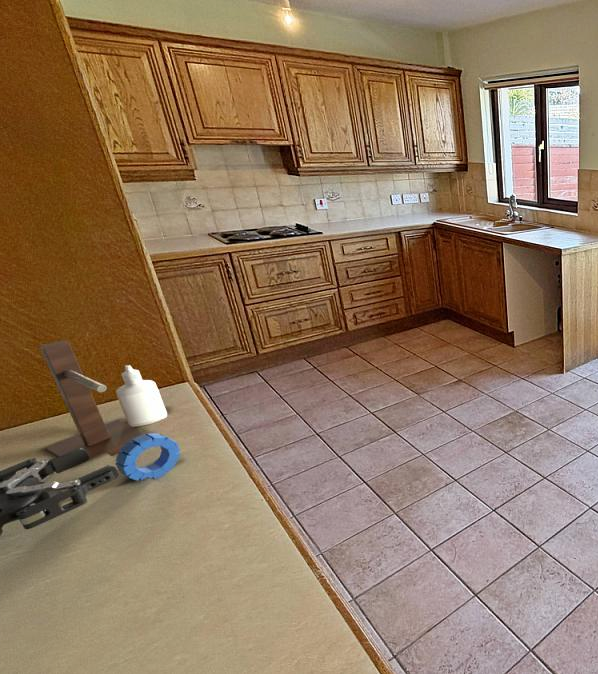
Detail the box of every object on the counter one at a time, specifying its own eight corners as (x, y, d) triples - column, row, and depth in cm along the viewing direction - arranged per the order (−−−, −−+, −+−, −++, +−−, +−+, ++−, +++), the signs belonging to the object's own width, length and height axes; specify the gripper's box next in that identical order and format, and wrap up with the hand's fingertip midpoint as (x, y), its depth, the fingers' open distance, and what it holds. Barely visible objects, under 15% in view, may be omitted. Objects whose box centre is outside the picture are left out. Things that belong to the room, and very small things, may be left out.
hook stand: (47, 453, 82) (-6, 348, 74) (120, 424, 91) (79, 327, 82) (95, 483, 76) (43, 372, 68) (169, 449, 85) (130, 347, 77)
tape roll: (145, 483, 79) (103, 465, 73) (182, 445, 82) (144, 425, 77) (153, 487, 78) (111, 470, 72) (190, 449, 81) (153, 429, 76)
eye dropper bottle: (161, 424, 91) (140, 369, 86) (124, 428, 89) (101, 373, 85) (171, 412, 95) (152, 359, 90) (136, 416, 93) (114, 362, 88)
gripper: (-64, 533, 54) (117, 455, 68) (-109, 493, 59) (67, 428, 73) (-32, 580, 57) (135, 496, 71) (-78, 538, 62) (86, 467, 76)
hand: (100, 461), depth 72 cm, fingers open, 8 cm apart
